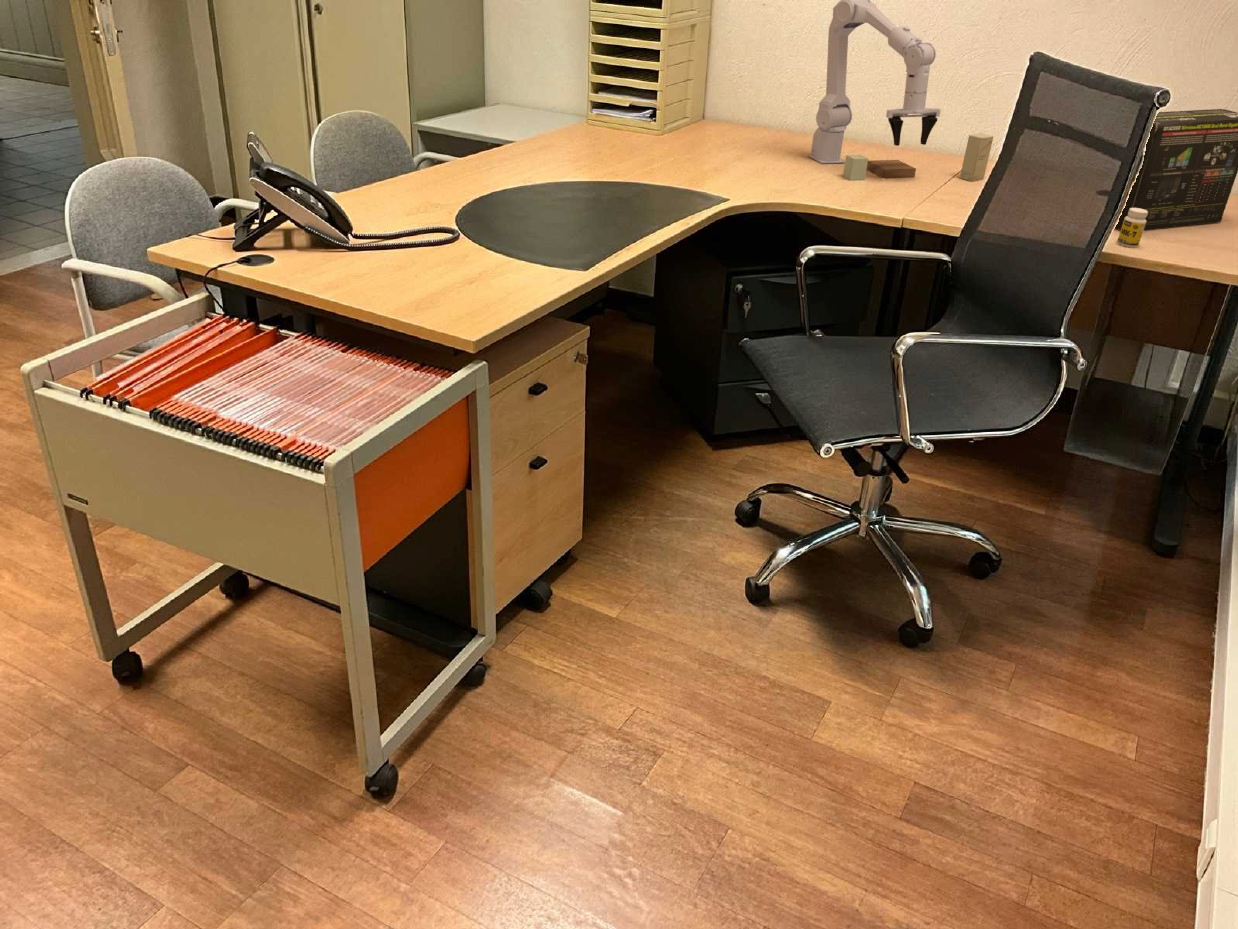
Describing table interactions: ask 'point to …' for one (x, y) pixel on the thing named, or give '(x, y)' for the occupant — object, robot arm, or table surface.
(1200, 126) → the router box
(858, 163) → the sage block
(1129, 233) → the supplement bottle
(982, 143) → the skincare box
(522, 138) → the table surface
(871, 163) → the walnut block
